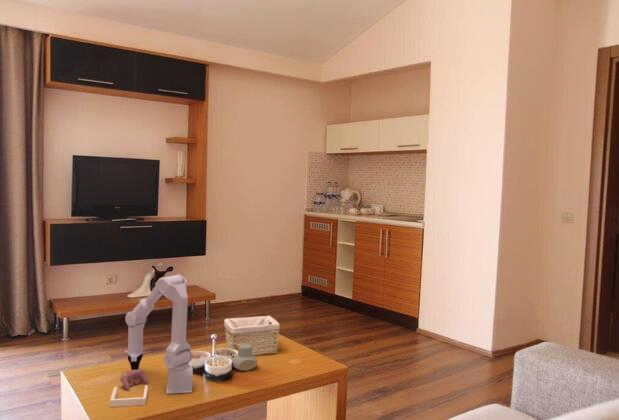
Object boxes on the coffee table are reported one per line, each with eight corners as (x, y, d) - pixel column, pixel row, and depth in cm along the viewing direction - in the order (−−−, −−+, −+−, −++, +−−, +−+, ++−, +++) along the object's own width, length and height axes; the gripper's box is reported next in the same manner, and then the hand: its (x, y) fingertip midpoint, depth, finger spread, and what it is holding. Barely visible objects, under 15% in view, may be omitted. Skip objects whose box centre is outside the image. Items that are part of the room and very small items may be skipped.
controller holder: (147, 391, 200) (147, 385, 199) (145, 404, 188) (145, 398, 188) (114, 393, 197) (114, 386, 197) (110, 407, 185) (110, 400, 185)
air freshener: (234, 373, 221) (235, 350, 221) (229, 366, 229) (230, 344, 228) (259, 370, 226) (260, 347, 225) (253, 363, 233) (254, 341, 233)
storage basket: (230, 359, 238) (231, 327, 237) (222, 348, 253) (223, 318, 252) (280, 354, 247) (281, 323, 246) (269, 344, 262) (270, 314, 261)
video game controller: (144, 385, 209) (139, 368, 210) (150, 383, 206) (145, 365, 208) (121, 392, 201) (117, 374, 203) (127, 390, 199) (123, 372, 200)
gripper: (127, 335, 219) (126, 366, 220) (123, 346, 205) (122, 380, 206) (144, 334, 221) (144, 366, 221) (142, 345, 207) (141, 379, 207)
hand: (135, 372), depth 214 cm, fingers closed
